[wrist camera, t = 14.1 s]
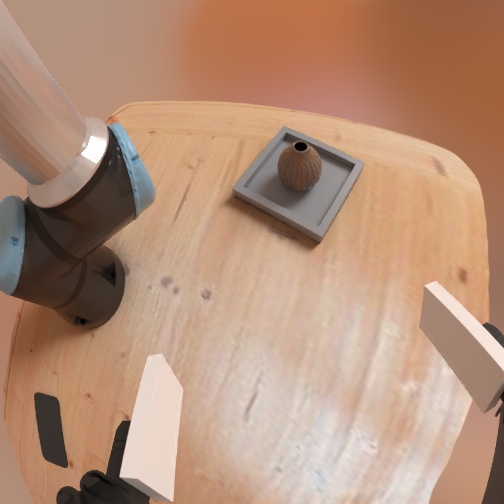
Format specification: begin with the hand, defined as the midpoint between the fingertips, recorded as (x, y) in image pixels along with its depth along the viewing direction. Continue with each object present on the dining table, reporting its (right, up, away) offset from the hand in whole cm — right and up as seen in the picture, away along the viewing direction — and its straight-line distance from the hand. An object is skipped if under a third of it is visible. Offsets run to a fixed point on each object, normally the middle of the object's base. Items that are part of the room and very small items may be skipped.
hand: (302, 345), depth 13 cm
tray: (+6, +16, +35) cm, 39 cm away
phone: (-41, -30, +24) cm, 56 cm away
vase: (+5, +16, +34) cm, 38 cm away
